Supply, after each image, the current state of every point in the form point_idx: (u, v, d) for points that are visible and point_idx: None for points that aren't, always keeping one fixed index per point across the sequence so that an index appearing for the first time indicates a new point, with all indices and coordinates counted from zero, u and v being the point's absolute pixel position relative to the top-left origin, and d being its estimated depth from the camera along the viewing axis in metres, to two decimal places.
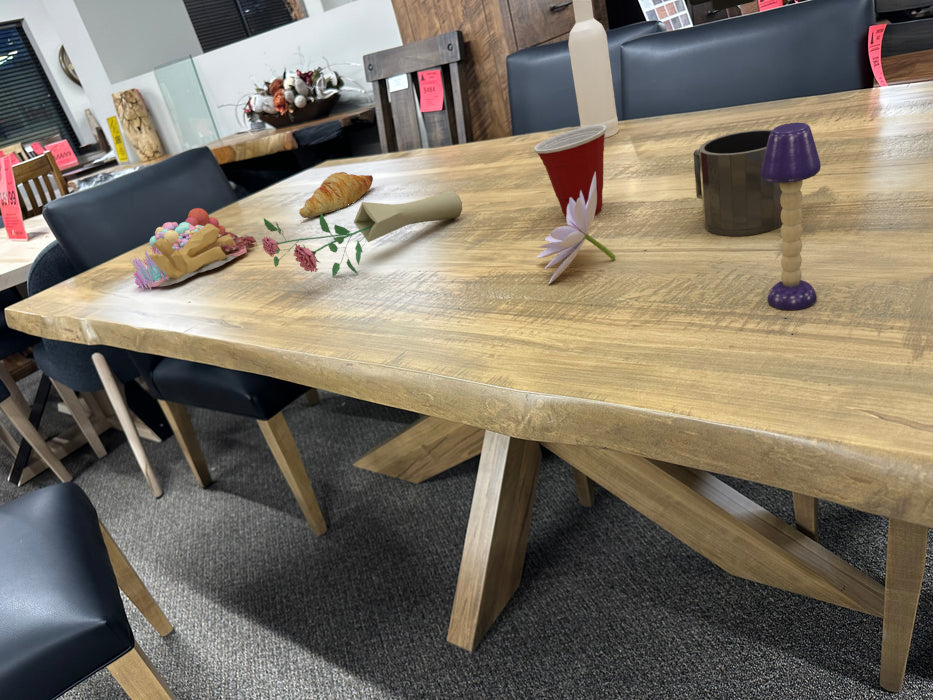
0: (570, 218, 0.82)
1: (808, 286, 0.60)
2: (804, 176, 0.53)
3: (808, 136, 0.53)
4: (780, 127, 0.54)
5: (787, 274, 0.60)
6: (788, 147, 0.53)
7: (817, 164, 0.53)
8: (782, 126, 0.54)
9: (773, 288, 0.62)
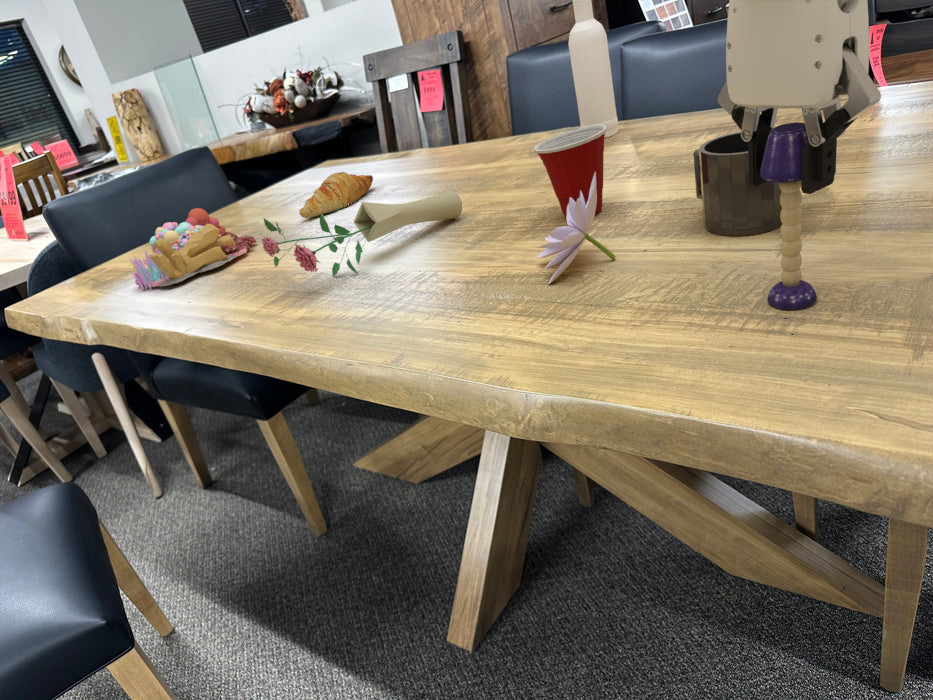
0: (570, 218, 0.82)
1: (808, 286, 0.60)
2: None
3: None
4: (779, 127, 0.54)
5: (787, 274, 0.60)
6: (787, 147, 0.53)
7: None
8: (781, 126, 0.54)
9: (773, 288, 0.62)
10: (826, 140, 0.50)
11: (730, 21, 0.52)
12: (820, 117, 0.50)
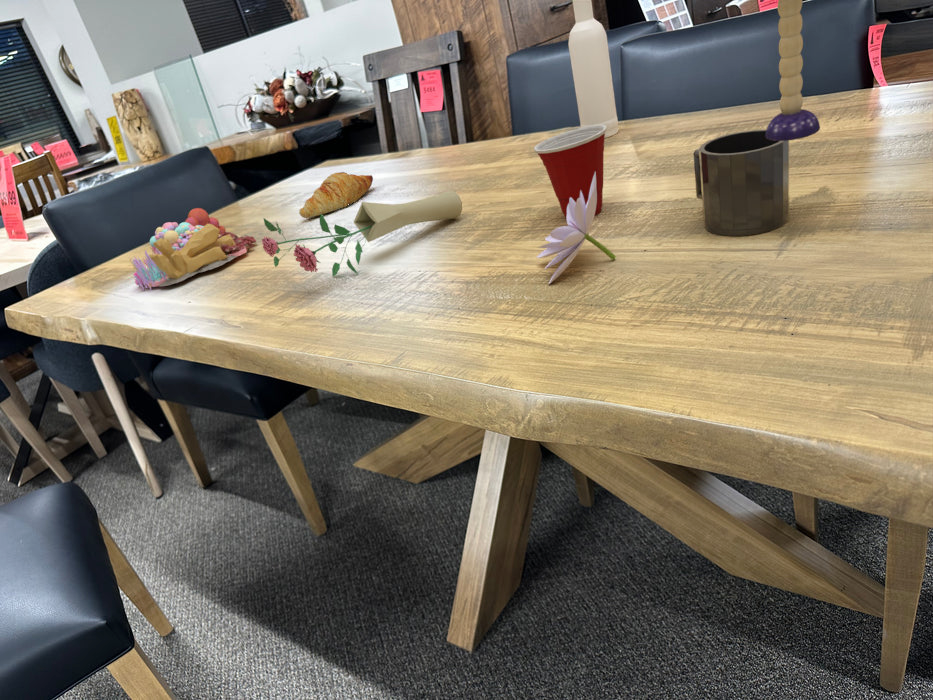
0: (570, 218, 0.82)
1: (810, 113, 0.54)
2: None
3: None
4: None
5: (787, 99, 0.54)
6: None
7: None
8: None
9: (771, 120, 0.56)
10: None
11: None
12: None
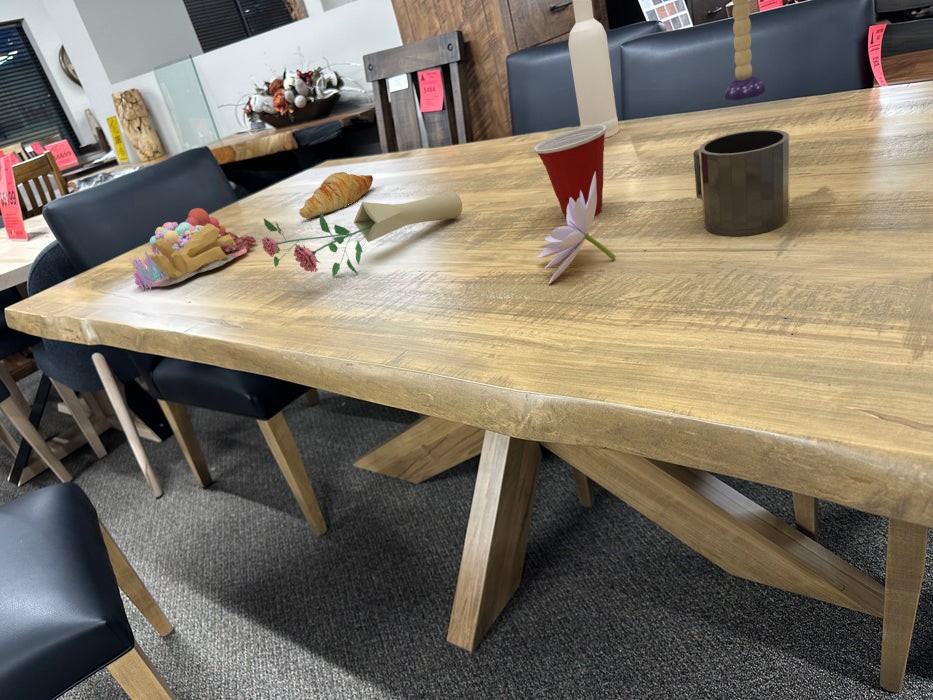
0: (570, 218, 0.82)
1: (758, 79, 0.71)
2: None
3: None
4: None
5: (740, 68, 0.71)
6: None
7: None
8: None
9: (729, 85, 0.72)
10: None
11: None
12: None
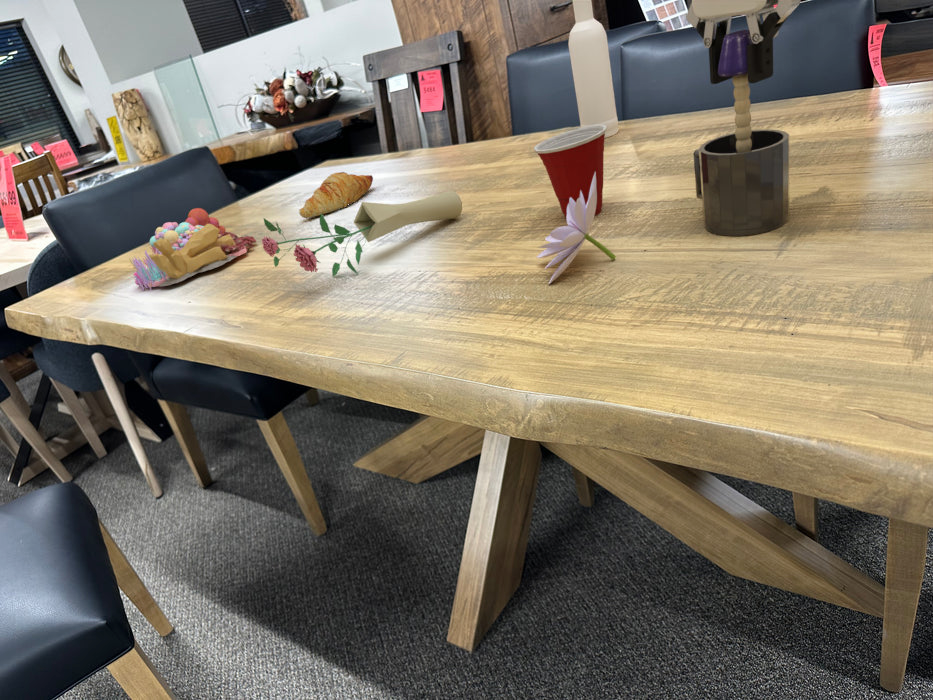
0: (570, 218, 0.82)
1: None
2: None
3: None
4: (731, 33, 0.71)
5: None
6: (736, 47, 0.69)
7: None
8: (733, 33, 0.71)
9: None
10: (764, 38, 0.67)
11: None
12: (759, 20, 0.67)
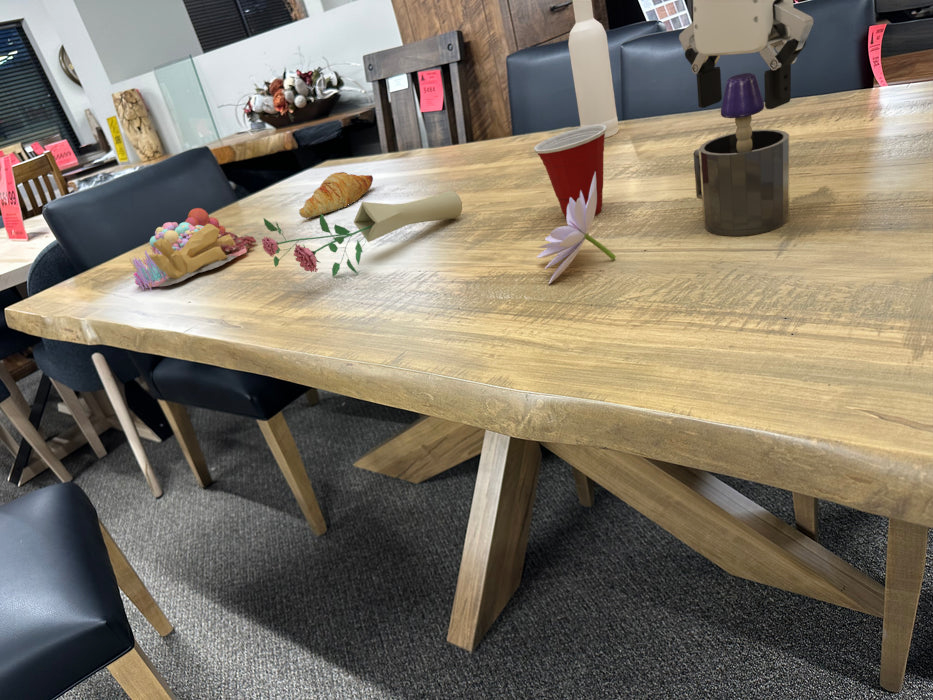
0: (570, 218, 0.82)
1: None
2: (751, 112, 0.72)
3: (754, 82, 0.71)
4: (734, 76, 0.73)
5: None
6: (739, 90, 0.72)
7: (761, 103, 0.72)
8: (735, 76, 0.73)
9: None
10: (782, 65, 0.67)
11: None
12: (772, 48, 0.67)
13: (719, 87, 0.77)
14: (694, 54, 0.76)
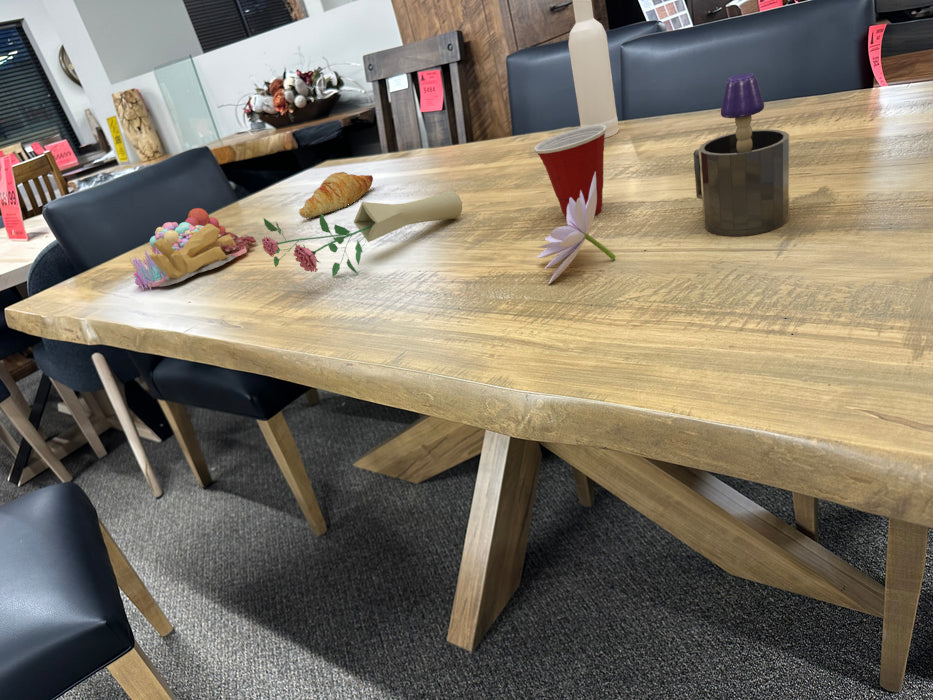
0: (570, 218, 0.82)
1: None
2: (751, 112, 0.72)
3: (754, 82, 0.71)
4: (734, 76, 0.73)
5: None
6: (739, 90, 0.72)
7: (761, 103, 0.72)
8: (735, 76, 0.73)
9: None
10: None
11: None
12: None
13: None
14: None
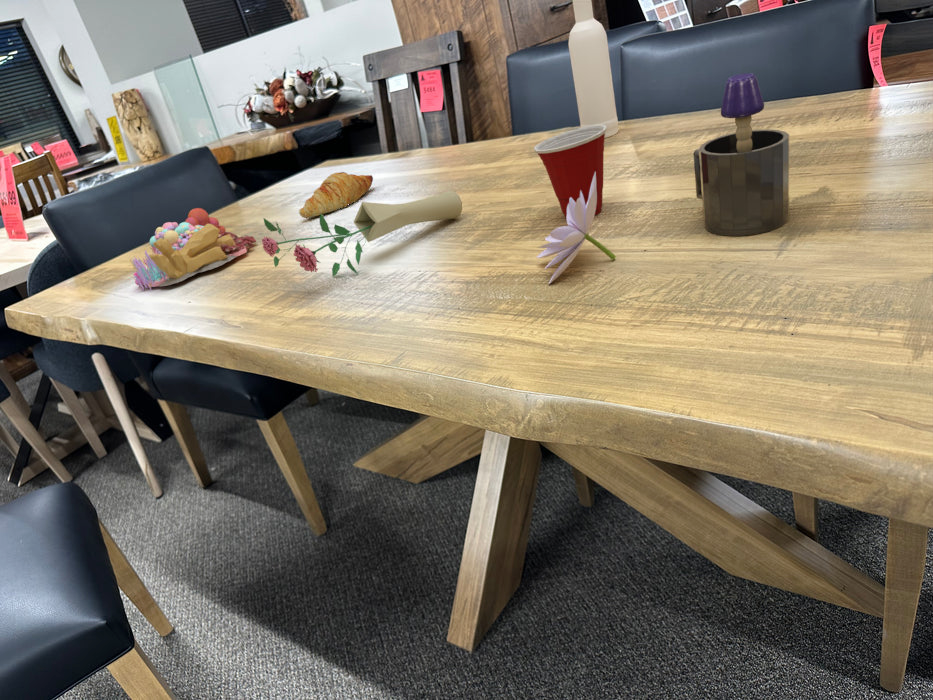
0: (570, 218, 0.82)
1: None
2: (751, 112, 0.72)
3: (754, 82, 0.71)
4: (734, 76, 0.73)
5: None
6: (739, 90, 0.72)
7: (761, 103, 0.72)
8: (735, 76, 0.73)
9: None
10: None
11: None
12: None
13: None
14: None
